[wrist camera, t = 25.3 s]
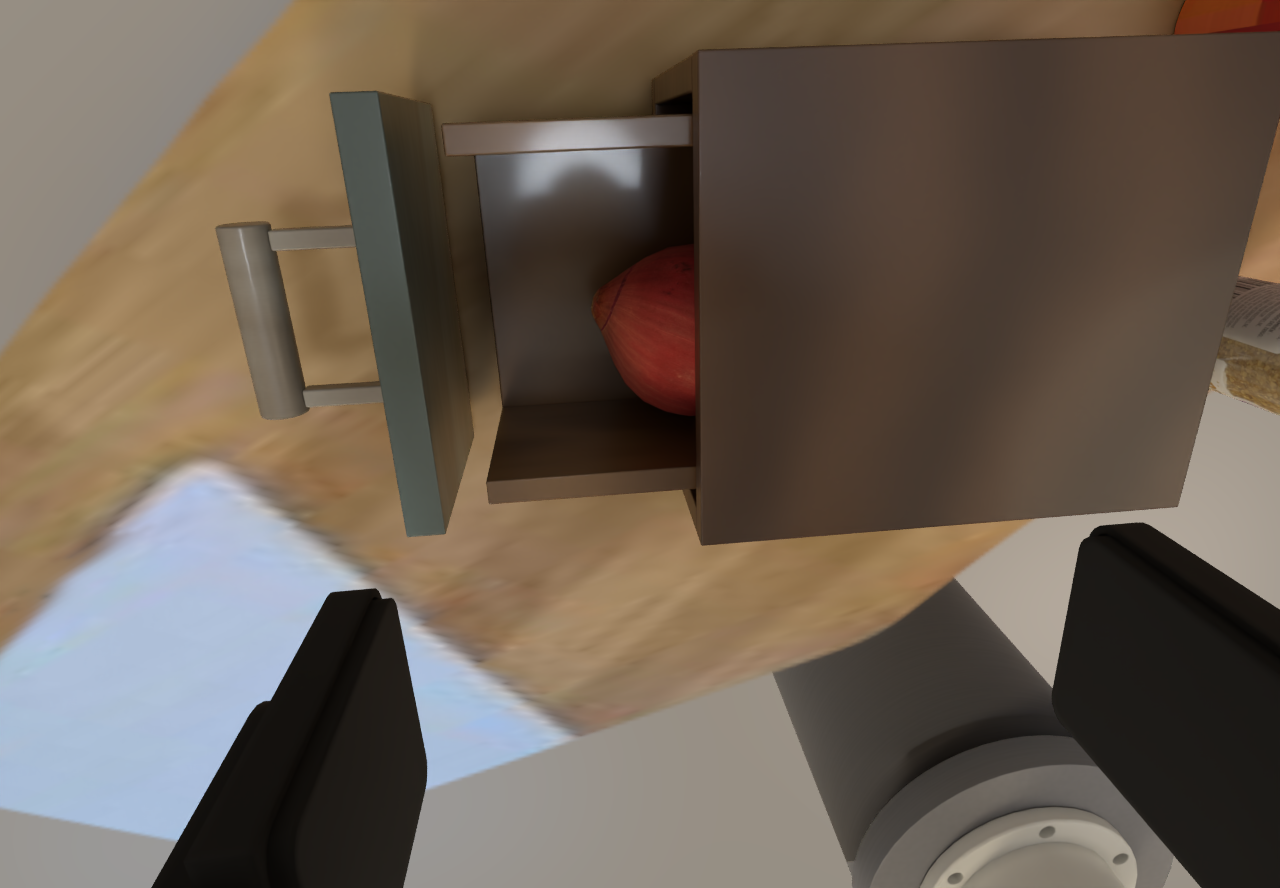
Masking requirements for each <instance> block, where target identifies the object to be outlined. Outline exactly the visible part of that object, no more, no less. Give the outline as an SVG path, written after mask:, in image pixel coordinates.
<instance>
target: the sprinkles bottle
mask: <svg viewBox="0 0 1280 888" xmlns="http://www.w3.org/2000/svg"><path fill="white" fill-rule="evenodd" d="M1209 389H1210V390H1213V391H1215V392H1219V393H1221V394H1224V395H1227V396H1229V397H1232V398H1234V399H1237V400H1240V401H1242V402H1245V403H1247V404H1250V405H1253V406H1255V407H1258V408H1261V409H1263V410H1266V411H1268V412H1271V413H1274V414H1276V415H1279V416H1280V284H1278V283H1273V282H1267V281H1262V280H1257V279H1252V278H1247V277H1241V276H1238V279H1237V283H1236V286H1235V290H1234V294H1233V298H1232V302H1231V305H1230V309H1229V313H1228V317H1227V321H1226V325H1225V328H1224V332H1223V336H1222V340H1221V344H1220V348H1219V351H1218V355H1217V359H1216V363H1215V367H1214V370H1213V374H1212V378H1211V382H1210V386H1209Z"/></svg>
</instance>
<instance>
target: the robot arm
mask: <svg viewBox="0 0 1280 888" xmlns="http://www.w3.org/2000/svg"><path fill="white" fill-rule="evenodd" d="M1052 705H1053V708H1054V712H1055V714H1056V716H1057V718H1058V720H1059V721H1060V723H1061V724H1062V725H1063V726H1064V727H1065V729H1066V730H1067V731H1068V732H1069V733H1070V735H1071V736H1072V737H1073V738H1074V739H1075V740H1076V742H1077V743H1078V744H1079V745H1080V746H1081V747H1082V749H1083V750H1084V751H1085V752H1086V753H1087V754H1088V756H1089V757H1090V758H1091V759H1092V760H1093V761H1094V763H1095V764H1096V765H1097V766H1098V767H1099V768H1100V770H1101V771H1102V772H1103V773H1104V774H1105V775H1106V777H1107V778H1108V779H1109V780H1110V781H1111V783H1112V784H1113V785H1114V786H1115V787H1116V788H1117V790H1118V791H1119V792H1120V793H1121V794H1122V795H1123V797H1124V798H1125V799H1126V800H1127V801H1128V802H1129V804H1130V805H1131V806H1132V807H1133V808H1134V809H1135V811H1136V812H1137V813H1138V814H1139V815H1140V816H1141V818H1142V819H1143V820H1144V821H1145V822H1146V823H1147V825H1148V826H1149V827H1150V828H1151V829H1152V831H1153V832H1154V833H1155V834H1156V835H1157V836H1158V838H1159V839H1160V840H1161V841H1162V842H1163V843H1164V845H1165V846H1166V847H1167V848H1168V849H1169V850H1170V852H1171V853H1172V854H1173V855H1174V856H1175V857H1176V859H1177V860H1178V861H1179V862H1180V863H1181V864H1182V866H1183V867H1184V868H1185V869H1186V870H1187V871H1188V873H1189V874H1190V875H1191V876H1192V877H1193V879H1195V881H1196V882H1197V883H1198V884H1199V886H1200V887H1201V888H1280V609H1278V608H1276V607H1275V606H1273V605H1272V604H1270V603H1269V602H1267V601H1266V600H1264V599H1263V598H1261V597H1259V596H1258V595H1256V594H1255V593H1253V592H1252V591H1250V590H1249V589H1247V588H1246V587H1244V586H1243V585H1241V584H1239V583H1238V582H1236V581H1235V580H1233V579H1232V578H1230V577H1229V576H1227V575H1225V574H1224V573H1223V572H1221V571H1219V570H1218V569H1216V568H1215V567H1213V566H1212V565H1210V564H1209V563H1207V562H1206V561H1204V560H1202V559H1201V558H1199V557H1198V556H1196V555H1195V554H1193V553H1192V552H1190V551H1189V550H1187V549H1186V548H1184V547H1182V546H1181V545H1179V544H1178V543H1176V542H1175V541H1173V540H1172V539H1170V538H1169V537H1167V536H1166V535H1164V534H1162V533H1161V532H1159V531H1158V530H1156V529H1155V528H1153V527H1152V526H1150V525H1148V524H1145V523H1127V524H1115V525H1103V526H1099V527H1097V528H1095V529H1094V530H1093V531H1092V532H1091V534H1090V536H1089V537H1088V538H1086V539H1084V540H1083V541H1082V542H1081V544H1080V547H1079V552H1078V557H1077V562H1076V567H1075V573H1074V578H1073V584H1072V589H1071V594H1070V599H1069V605H1068V611H1067V616H1066V621H1065V627H1064V631H1063V637H1062V642H1061V647H1060V653H1059V659H1058V664H1057V670H1056V674H1055V680H1054V685H1053V690H1052ZM426 782H427V759H426V753H425V748H424V743H423V738H422V733H421V728H420V722H419V717H418V712H417V707H416V702H415V697H414V692H413V687H412V681H411V676H410V671H409V666H408V661H407V656H406V651H405V646H404V641H403V635H402V630H401V625H400V620H399V615H398V610H397V606H396V603H395V601H394V599H392V598H388V599H382V598H381V595H380V593H379V591H378V590H377V589H376V588H375V589H363V590H352V591H340V592H332V593H330V594H329V595H328V597H327V598H326V600H325V602H324V604H323V605H322V607H321V609H320V611H319V613H318V615H317V616H316V618H315V620H314V622H313V624H312V626H311V627H310V629H309V631H308V633H307V635H306V637H305V639H304V640H303V642H302V644H301V646H300V648H299V650H298V651H297V653H296V655H295V657H294V659H293V661H292V662H291V664H290V666H289V668H288V670H287V672H286V673H285V675H284V677H283V679H282V681H281V683H280V684H279V686H278V688H277V690H276V692H275V694H274V696H273V697H272V699H271V701H264V702H262V703H260V704H258V705H257V706H256V707H255V708H254V710H253V711H252V712H251V714H250V715H249V717H248V718H247V720H246V722H245V724H244V725H243V727H242V729H241V731H240V732H239V734H238V736H237V738H236V739H235V741H234V743H233V745H232V747H231V748H230V750H229V752H228V754H227V755H226V757H225V759H224V761H223V762H222V764H221V766H220V768H219V769H218V771H217V773H216V775H215V776H214V778H213V780H212V782H211V784H210V785H209V787H208V789H207V791H206V792H205V794H204V796H203V798H202V799H201V801H200V803H199V805H198V806H197V808H196V810H195V812H194V813H193V815H192V817H191V819H190V821H189V822H188V824H187V826H186V828H185V829H184V831H183V833H182V835H181V836H180V838H179V840H178V842H177V843H176V845H175V847H174V849H173V851H172V852H171V854H170V856H169V858H168V860H167V861H166V863H165V865H164V867H163V868H162V870H161V872H160V873H159V875H158V877H157V879H156V880H155V882H154V884H153V886H152V887H151V888H403V885H404V881H405V877H406V873H407V868H408V863H409V859H410V855H411V850H412V846H413V842H414V837H415V833H416V828H417V824H418V820H419V815H420V811H421V806H422V802H423V797H424V793H425V789H426ZM1136 880H1137V864H1136V859H1135V857H1134V854H1133V852H1132V850H1131V848H1130V846H1129V845H1128V844H1127V842H1126V841H1125V840H1124V839H1123V837H1122V836H1121V835H1120V833H1119V832H1118V831H1117V830H1116V829H1115V828H1114V827H1113V826H1112V825H1111V824H1110V823H1108V822H1107V821H1106V820H1104V819H1102V818H1101V817H1099V816H1097V815H1095V814H1093V813H1090V812H1086V811H1082V810H1079V809H1075V808H1063V807H1043V808H1032V809H1027V810H1023V811H1018V812H1014V813H1010V814H1007V815H1005V816H1002V817H999V818H996V819H994V820H991V821H989V822H987V823H985V824H983V825H981V826H979V827H977V828H975V829H973V830H972V831H970V832H969V833H967V834H966V835H964V836H963V837H962V838H960V839H959V840H957V841H956V842H954V843H953V844H952V845H951V846H950V847H949V848H948V849H947V850H946V851H945V852H944V853H942V854H941V855H940V857H939V858H938V859H937V860H936V862H935V863H934V864H933V865H932V867H931V868H930V869H929V871H928V873H927V874H926V876H925V878H924V880H923V882H922V884H921V886H920V888H1135V886H1136Z"/></svg>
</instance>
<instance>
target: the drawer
mask: <svg viewBox="0 0 1280 888" xmlns="http://www.w3.org/2000/svg"><path fill="white" fill-rule="evenodd" d="M329 96H330V101H331V107H332V113H333V118H334V124H335V130H336V135H337V141H338V147H339V153H340V158H341V164H342V170H343V175H344V181H345V187H346V192H347V198H348V204H349V209H350V215H351V221H352V225H345V226H325V227H304V228H283V229H273V230H272V229H271V224H270V223H269V222H241V223H231V224H223V225H219V226H216V228H215V229H216V233H217V238H218V242H219V246H220V250H221V254H222V258H223V262H224V266H225V271H226V275H227V279H228V283H229V287H230V291H231V295H232V299H233V303H234V308H235V312H236V316H237V320H238V324H239V328H240V332H241V336H242V341H243V345H244V349H245V353H246V357H247V361H248V365H249V369H250V373H251V378H252V382H253V386H254V390H255V394H256V398H257V402H258V406H259V411H260V415H261V416H262V418H264V419H269V420H281V419H288V418H293V417H296V416H299V415H302V414H304V413H306V412H307V411H309V409H310V407H323V406H338V405H354V404H369V403H384V409H385V414H386V420H387V426H388V431H389V437H390V443H391V448H392V454H393V460H394V465H395V471H396V477H397V482H398V488H399V494H400V500H401V505H402V511H403V517H404V522H405V528H406V534H407V537H415V536H428V535H441V534H446V530H447V527H448V523H449V520H450V517H451V513H452V510H453V506H454V503H455V499H456V496H457V493H458V489H459V486H460V482H461V479H462V476H463V472H464V469H465V465H466V462H467V458H468V455H469V452H470V448H471V445H472V441H473V438H474V431H473V423H472V415H471V408H470V400H469V392H468V384H467V377H466V369H465V361H464V354H463V346H462V338H461V331H460V323H459V315H458V307H457V300H456V292H455V284H454V277H453V269H452V261H451V253H450V246H449V238H448V230H447V223H446V215H445V207H444V200H443V192H442V184H441V176H440V169H439V161H438V153H437V146H436V138H435V130H434V123H433V115H432V107H431V104H428V103H424V102H420V101H416V100H412V99H408V98H403V97H399V96H395V95H391V94H387V93H383V92H379V91H358V92H331V93H330V94H329ZM441 128H442V136H443V144H444V152H445V155H446V156H471V155H474V159H475V167H476V176H477V185H478V194H479V203H480V212H481V221H482V229H483V238H484V247H485V256H486V265H487V274H488V283H489V292H490V300H491V309H492V318H493V327H494V336H495V345H496V354H497V363H498V371H499V380H500V389H501V398H502V407H503V408H502V413H501V417H500V422H499V426H498V431H497V436H496V440H495V445H494V449H493V454H492V459H491V463H490V468H489V472H488V477H487V482H486V484H487V492H488V500H489V504H499V503H512V502H525V501H538V500H552V499H565V498H578V497H591V496H605V495H618V494H631V493H644V492H657V491H671V490H684V489H696V416H685V415H679V414H674V413H668V412H665V411H663V410H661V409H659V408H656V407H654V406H652V405H650V404H648V403H646V402H644V401H643V400H642V399H641V398H640V397H639V396H637V395H636V394H635V393H634V392H633V391H632V390H631V389H630V388H629V387H628V386H627V385H626V384H625V382H624V380H623V379H622V377H621V375H620V373H619V372H618V370H617V368H616V366H615V365H614V363H613V360H612V358H611V355H610V353H609V350H608V347H607V345H606V342H605V340H604V337H603V335H602V332H601V330H600V328H599V326H598V325H597V323H596V321H595V319H594V318H593V315H592V312H591V305H592V300H593V297H594V295H595V293H596V292H597V290H598V289H599V288H600V287H602V286H603V285H605V284H606V283H608V282H609V281H611V280H612V279H614V278H615V277H617V276H618V275H620V274H621V273H622V272H624V271H625V270H627V269H628V268H630V267H631V266H633V265H634V264H636V263H638V262H639V261H641V260H642V259H644V258H645V257H648V256H650V255H652V254H654V253H656V252H659V251H661V250H663V249H665V248H667V247H671V246H679V245H687V244H694V197H693V114H675V115H649V116H623V117H597V118H571V119H545V120H519V121H493V122H467V123H443V124H442V125H441ZM347 247H356V249H357V255H358V261H359V266H360V272H361V278H362V283H363V289H364V295H365V300H366V306H367V312H368V318H369V323H370V329H371V335H372V340H373V346H374V352H375V357H376V363H377V369H378V374H379V380H380V381H376V382H360V383H344V384H328V385H312V386H307V387H306V386H305V382H304V377H303V372H302V368H301V363H300V358H299V354H298V349H297V345H296V340H295V335H294V331H293V326H292V321H291V317H290V312H289V307H288V303H287V298H286V294H285V289H284V284H283V280H282V275H281V270H280V266H279V261H278V256H277V252H276V251H287V250H307V249H327V248H347Z"/></svg>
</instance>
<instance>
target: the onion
mask: <svg viewBox="0 0 1280 888" xmlns="http://www.w3.org/2000/svg"><path fill="white" fill-rule="evenodd" d="M591 312H592V315H593V318H594V319H595V321H596V323H597V325H598V326H599V328H600V330H601V332H602V335H603V337H604V340H605V342H606V345H607V347H608V350H609V353H610V355H611V358H612V360H613V363H614V365H615V366H616V368H617V370H618V372H619V373H620V375H621V377H622V379H623V380H624V382H625V384H626V385H627V386H628V387H629V388H630V389H631V390H632V391H633V392H634V393H635V394H636V395H637V396H639V397H640V398H641V399H642V400H643V401H644V402H646V403H648V404H650V405H652V406H654V407H656V408H659V409H661V410H663V411H665V412H668V413H674V414H679V415H685V416H696V403H695V300H694V244H687V245H679V246H671V247H667V248H665V249H663V250H661V251H659V252H656V253H654V254H652V255H650V256H648V257H645V258H644V259H642V260H641V261H639V262H638V263H636V264H634V265H633V266H631V267H630V268H628V269H627V270H625V271H624V272H622V273H621V274H620V275H618V276H617V277H615V278H614V279H612V280H611V281H609V282H608V283H606V284H605V285H603V286H602V287H600V288H599V289H598V290H597V292H596V293H595V295H594V297H593V300H592V305H591Z"/></svg>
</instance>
